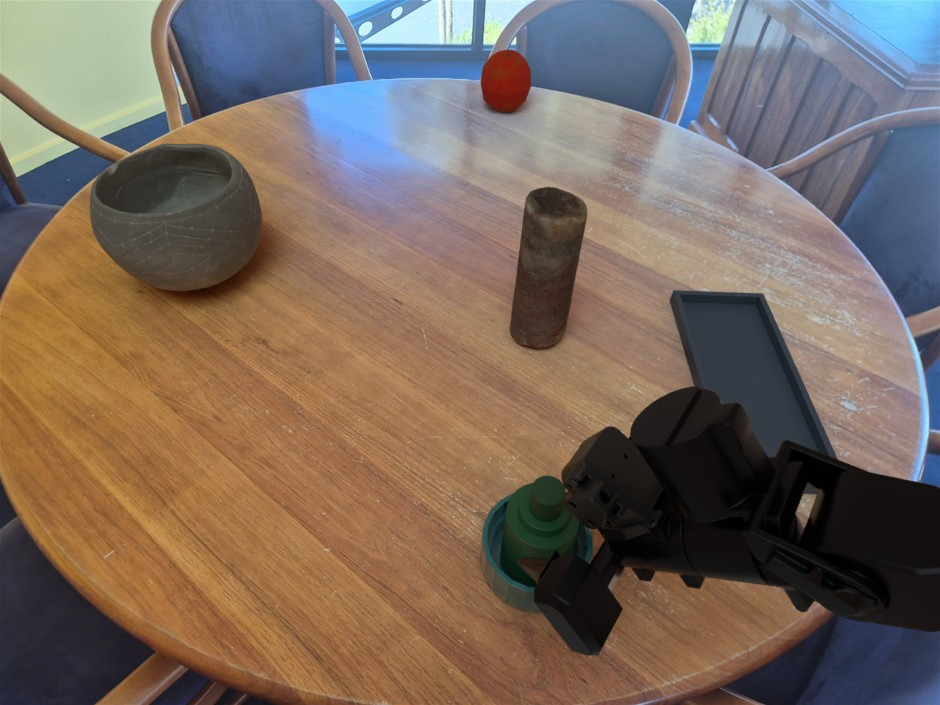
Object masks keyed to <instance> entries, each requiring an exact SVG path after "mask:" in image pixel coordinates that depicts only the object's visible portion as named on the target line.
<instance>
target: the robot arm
mask: <svg viewBox="0 0 940 705" xmlns="http://www.w3.org/2000/svg"><path fill="white" fill-rule="evenodd" d="M560 473H561V474H560V475H561V476H560V477H561V482H562V483H563V486H564V487H565V490H566V492H567V493H568V494H567V496H566V498H565V499H564V505H565V508H566V509H567V510H568V511H569V512H570V513H571V514H573V515H574V516H575V517H576V518H577V519H578V520H579V521H580V522H581V523H582V524H583V525H584V526H585V527H587V528H589V529H590V530H597V531H598V532H599V533H600V535H601V537H602V538H603V539H604V540H603V541H602V543H601V545H599V548H598V549H597V552H595V555H594V556H593V557H592V559H591V561H590V564H589V563H588V562H586V561H585V560H583V559H581V558H580V557H578V556H577V555H571V554H564V555H562V556H560V554H559V553H558V552H557V550H555V551H554V553H553V554H552V556H551V557H550V559H549V560H546V559H538V558H530V557H523V558H518V559H517V561H516V563H517V564H518V565H519V567H520V568H521V569H522V570H523V571H524V572H525V573H526V574H528V575H529V576H530V577H531V578H532V579H533V580H535V581H536V582H537V586H536V587H535V589H534V603H535V604H536V605H537V606H538V608H539V609H540V610H541V612H540V613H542V615H543V616H544V617H545V618H546V620H547V621H548V622H549V624H550V625H551V626H552V627H553V629H554V630H555V631H556V633H557V634H558V635H559V637H560V638H561V640H562V641H563V642H564V643H565V644H566V646H567V647H568V648H569V650H570V651H571V652H575V653H578V654H581V655H584V656H588V657H589V656H599V655H600V653H601V652H602V650H603V648H604V645H605V644H606V642H607V640H608V638H609V637H610V635H611V633H612V631H613V630H614V627H615V625H616V624H617V621H618V619H619V618H620V616H621V614H622V612H623V610H624V607H623V606H622V605H621V603H620V602H619V601H618V599H617V598H616V596H615V595H614V593H613V591H614V589H615V588H616V585H617V584H618V582H619V580H620V579H621V577H622V575H623V574H624V571H625V570H626V568H629V569H631V570H632V572H633V573H634V575H635V576H636V578H638V580H639V581H641V582H649V583H651V582H652V580H653V578H654V576H655V574H656V572H659V573H665V574H666V573H667V574H673V575H678V576H679V577H680V579H681V580H682V582H683V584H684V585H685V586H686V587H687V588H689V589H695V590H696V589H698V590H701V588H702V586H703V584H704V582H705V580H706V579H712V580H713V579H714V580H721V581H729V582H736V583H737V582H738V583H743V584H752V585H760V586H768V587H776V588H782V589H783V591H784V593H785V594H786V595H787V597H788V599H789V600H790V602H791V604H792V606H793V607H794V609H796V610H797V612H800V613H807V612H808V611H809V610H810V608H811V607H812V606H813V604H814V602H816V603H817V604H819V605H820V606H822V607H823V608H824V609H826V610H828V611H829V612H831V613H832V614H834V615H836V616H837V617H839V618H844V619H846V620H849V621H853V622H858V623H869V624H874V625H875V624H876V625H881V626H889V627H893V628H899V629H900V628H901V629H908V630H914V631H920V632H926V633H927V632H928V633H937V632H940V486H937V485H934V484H929V483H924V482H920V481H915V480H910V479H906V478H901V477H895V476H890V475H886V474H882V473H876V472H871V471H868V470H866V469H864V468H860V467H858V466H855V465H853V464H851V463H847V462H846V461H843V460H840V459H839V458H838V459H835V458H833V457H830V456H827V455H825V454H822V453H820V452H817V451H815V450H812V449H810V448H807V447H804V446H802V445H799V444H797V443H794V442H792V441H789V440H784V441H782V443H781V445H780V447H779V449H778V451H777V454H776V456H775V457H768V456H767V455H766V453H765V451H764V449H763V448H762V446H761V444H760V442H759V441H758V439H757V437H756V435H755V434H754V432H753V430H752V426H751V422H750V419H749V417H748V415H747V414H746V412H745V410H744V408H743V407H742V405H741V404H739V403H737V402H735V403H726V404H723V403H722V401H721V399H720V397H719V396H718V395H717V394H716V393H715V392H713V391H711V390H708V389H700V388H699V386H693V385H692V386H687V387H681V388H679V389H676V390H673V391H671V392H668V393H666V394H664V395H663V396H660V397H658V398H657V399H655V400H654V401H652V402H651V403H649V404H648V405H647V406H646V407H645V408H643V410H642V411H640V412H639V414H638V415H637V416H636V417H635V419H634V420H633V421H632V424H631V427H630V432H629V436H627V435H626V434H624V433H623V431H622V430H620V429H619V428H618V427H616V426H613V425H611V426H610V425H609V426H606V427H604V428H603V429H601V430H599V431H598V432H596V433H594V434H592V435H591V436H589V437H587V438H586V439H584V440H583V441H582V442H581V443H580V444H579V446H578V448H577V450H576V451H575V452H574V453H573V455H572V457H571V458H570V459H569V461H568V462H567V463H566V464H565V466H563V469H562V470H561V472H560ZM807 483H809V484H811V485H812V486H814V487H815V488H817V489H818V490H819V491H818V493H817V494H816V496H815V498H814V502H813V504H812V507H811V509H810V511H809V515H808V517H807V520H806V522H805V526H804V525H803V523H802V522H801V520H800V519H799V517H798V515H797V511H798V509H799V506H800V503H801V501H802V498H803V496H804V494H803V493H804V491H805V488H806V486H807Z"/></svg>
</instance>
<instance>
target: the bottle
mask: <svg viewBox="0 0 940 705" xmlns="http://www.w3.org/2000/svg"><path fill="white" fill-rule="evenodd" d="M513 493H514V494H513V495H512V496H511V498H510V499H509V502H508V505H507V510H506V517H505V524H504V531H503V539H502V546H501V553H500V562H501V566H502V569H503V571H504V573H505V574H506V575H507V576H509V577H510V578H511V579H512V580H514V581H516V582H519V583H521V584H523V585H526V586H528V587H536V586H537V582H536V581H535V580H533V579H532V578H531V577H530V576H529V575H528V574H526V573H525V572H524V571H523V570H522V569H521V568H520V567H519V565H518V564H517V563H516V561H517V559H518V558H523V557H530V558H538V559H546V560H549V559H550V557H551V556H552V554H553V553H554V551H555V550H557V552H558V553H559V554H560V556H562V555H564V554H570V552H571V549H572V546H573V543H574V540H575V537H576V534H577V531H578V528H579V523H580V521H579V520H578V519H577V518H576V517H575V516H574V515H573V514H571V513H570V512H569V511H568V510H567V509H566V508H565V505H564V499H565V498H566V496H567V494H568V492H567V489H566V488H565V487H564V486H563V482H562V480H560V479H559V478H557V477H556V476H552V475H541V476H539V477H537V478H536V479H534V481H533V482H530V483H526V484H524V485H522V486H520V487H519V488H517V489H516V490H515V491H514V492H513Z"/></svg>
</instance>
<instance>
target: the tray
mask: <svg viewBox="0 0 940 705" xmlns="http://www.w3.org/2000/svg"><path fill="white" fill-rule="evenodd" d="M669 303H670V307H671V309H672V314H673V317H674V319H675V323H676V327H677V330H678V331H677V332H678V334H679V338H680V341H681V344H682V347H683V351H684V355H685V357H686V361H687V366H688V368H689V371H690V375H691V378H692V383H693V385H694V386H699V388H700V389H708V390H711V391H713V392H715V393H716V394H717V395H718V396H719V397H720V399H721V401H722V403H723V404H726V403H735V402H737V403H739V404H741V405H742V407H743V408H744V410H745V412H746V414H747V415H748V417H749V419H750V422H751V426H752V430H753V432H754V434H755V435H756V437H757V439H758V441H759V442H760V444H761V446H762V448H763V449H764V451H765V453H766V455H767V456H768V457H775V456H776V454H777V451H778V449H779V447H780V445H781V443H782V441H784V440H789V441H792V442H794V443H797V444H799V445H802V446H804V447H807V448H810V449H812V450H815V451H817V452H820V453H822V454H825V455H827V456H830V457H833V458H835V459H838V460H839V458H838V456H837V454H836V452H835V450H834V448H833V445H832V443H831V440H830V438H829V436H828V434H827V432H826V430H825V427H824V425H823V423H822V421H821V418H820V416H819V415H818V412H817V410H816V407H815V405H814V403H813V400H812V399H811V396H810V394H809V392H808V389H807V387H806V386H805V383H804V381H803V379H802V377H801V374H800V371H799V369H798V368H797V366H796V363H795V361H794V359H793V356H792V354H791V352H790V350H789V347H788V345H787V343H786V340H785V338H784V336H783V334H782V332H781V330H780V327H779V325H778V323H777V321H776V318H775V316H774V314H773V312H772V309H771V308H770V305H769V303H768V300H767V299H766V297H765V294H764V292H735V291H711V290H710V291H709V290H708V291H707V290H706V291H705V290H679V289H678V290H677V289H673V290H672V293H671V296H670V298H669ZM818 491H819V490H818V489H817V488H815V487H814V486H812V485H811V484H809V483H807V486H806V488H805V491H804V493H803V495H804V494H805V495H817V493H818Z"/></svg>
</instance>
